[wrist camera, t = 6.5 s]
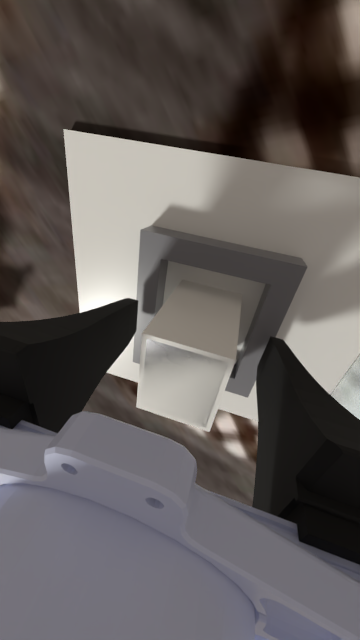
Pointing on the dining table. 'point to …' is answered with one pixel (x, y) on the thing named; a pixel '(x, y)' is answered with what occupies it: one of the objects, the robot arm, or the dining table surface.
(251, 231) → the socket plate
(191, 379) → the light grey box
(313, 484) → the robot arm
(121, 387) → the dining table surface
